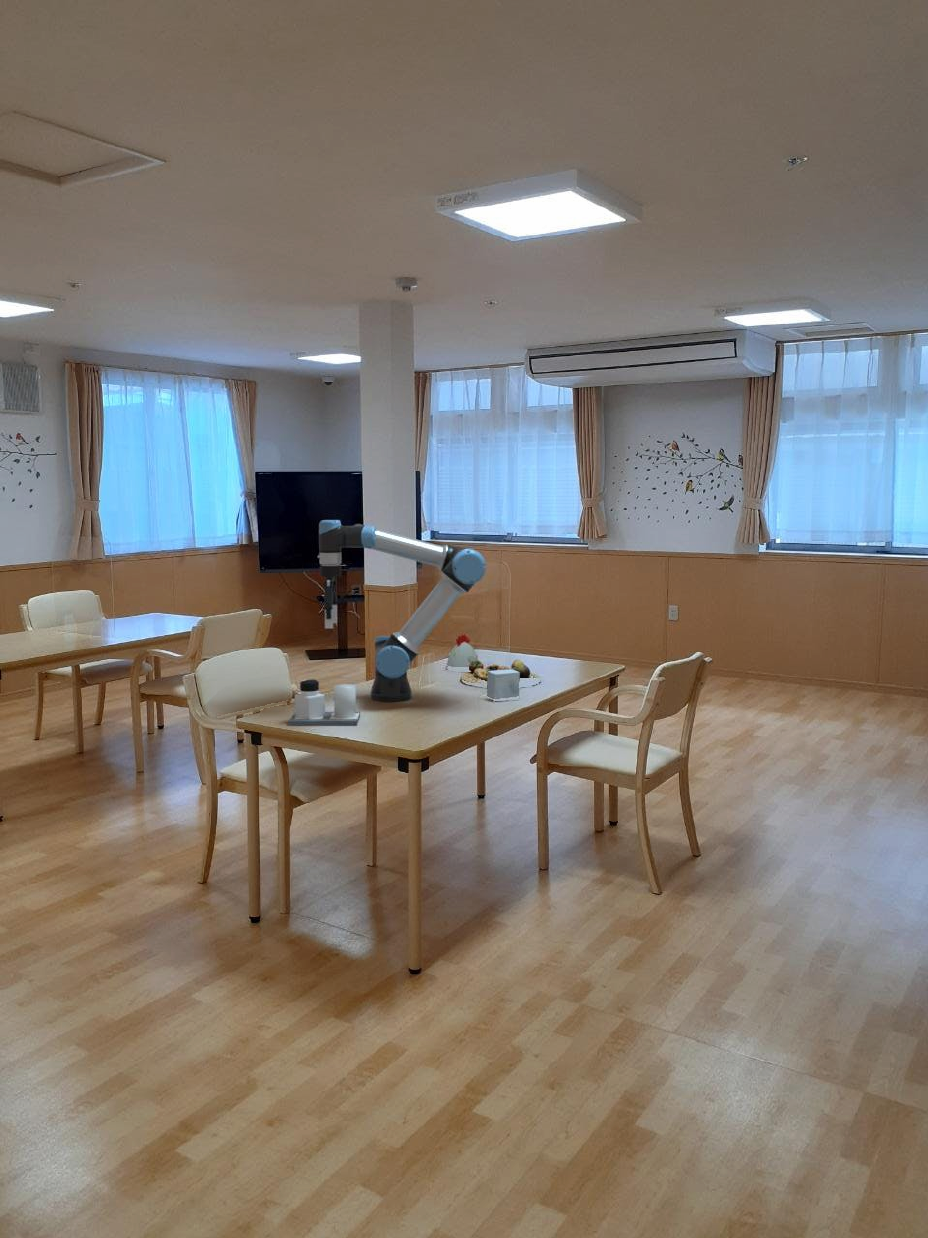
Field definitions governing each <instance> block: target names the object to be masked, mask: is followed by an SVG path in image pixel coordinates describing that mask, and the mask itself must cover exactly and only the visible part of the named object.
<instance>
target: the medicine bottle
mask: <svg viewBox="0 0 928 1238" xmlns="http://www.w3.org/2000/svg"><path fill="white" fill-rule="evenodd" d="M319 684H320V683H319V681H318V680H316V679H313V678H312V679H310V678H309V679H303V680H301V681H300V682H299V685H300V687H299V688H300V689H299V691H300V693H298V694H295V695H294V712H295V716H298V717H302V718H306V719H311V718H316V717H320V716H324V715H325V712H326V709H325V708H326V705H325V704H326V703H325V701H326V700H325V698H326V697H325V694H322V693H320V688H319V687H320V685H319Z"/></svg>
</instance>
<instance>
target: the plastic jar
mask: <svg viewBox="0 0 928 1238" xmlns="http://www.w3.org/2000/svg"><path fill="white" fill-rule="evenodd" d="M356 688H357V686H356V685H355V684H353V683H352V684H351V683H340V684H334V686H333V691H334V692H333V697H334V699H333V700H334V701H333V702H334V703H333V708H334V709H333V710H334V711H333V712H334V716H335V717H337V718H352V717H355V716H356V712H357V711H356V709H357V708H356V707H357V706H356V705H357V704H356V700H357V699H356V698H357V697H356V694H357V693H356V690H357V689H356Z"/></svg>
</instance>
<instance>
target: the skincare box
mask: <svg viewBox="0 0 928 1238" xmlns="http://www.w3.org/2000/svg"><path fill="white" fill-rule="evenodd" d="M519 682H520V672H518V671H515V670H513V669H511V668H509V670H495V671H487V688H486V697H487V696H488V697H490V698H492V699H500V698H509V697H517V696H519V697H520V688H519Z"/></svg>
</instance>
